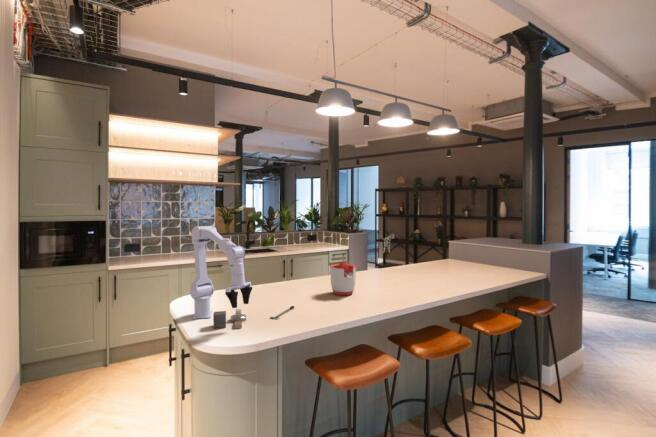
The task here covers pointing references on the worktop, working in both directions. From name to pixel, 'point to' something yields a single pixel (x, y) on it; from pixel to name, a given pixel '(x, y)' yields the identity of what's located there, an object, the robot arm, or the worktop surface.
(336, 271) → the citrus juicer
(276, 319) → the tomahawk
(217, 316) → the dark grey block
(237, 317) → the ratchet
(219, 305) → the worktop surface
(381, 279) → the worktop surface
